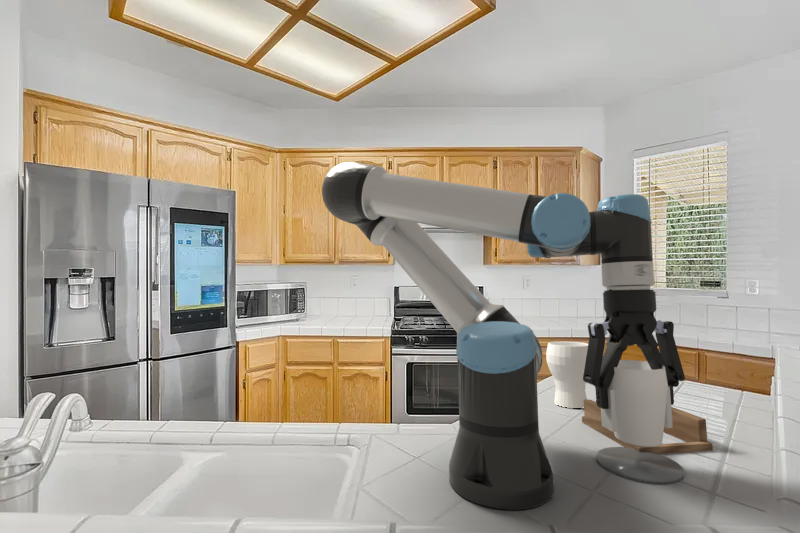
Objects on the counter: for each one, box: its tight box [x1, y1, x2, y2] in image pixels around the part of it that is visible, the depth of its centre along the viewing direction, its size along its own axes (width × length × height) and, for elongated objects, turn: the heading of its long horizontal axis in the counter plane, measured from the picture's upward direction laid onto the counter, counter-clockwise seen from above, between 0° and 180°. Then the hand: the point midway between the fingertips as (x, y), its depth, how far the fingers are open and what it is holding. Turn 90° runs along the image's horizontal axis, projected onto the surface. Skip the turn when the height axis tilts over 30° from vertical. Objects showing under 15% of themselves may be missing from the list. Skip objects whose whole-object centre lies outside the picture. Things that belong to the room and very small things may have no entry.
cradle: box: [581, 399, 714, 455], centre depth 75 cm, size 14×17×5 cm
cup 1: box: [545, 340, 588, 409], centre depth 96 cm, size 11×11×15 cm
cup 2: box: [609, 359, 668, 447], centre depth 63 cm, size 9×9×12 cm
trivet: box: [596, 446, 685, 485], centre depth 62 cm, size 12×12×1 cm
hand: (636, 426), depth 62 cm, fingers closed on cup 2, 9 cm apart
